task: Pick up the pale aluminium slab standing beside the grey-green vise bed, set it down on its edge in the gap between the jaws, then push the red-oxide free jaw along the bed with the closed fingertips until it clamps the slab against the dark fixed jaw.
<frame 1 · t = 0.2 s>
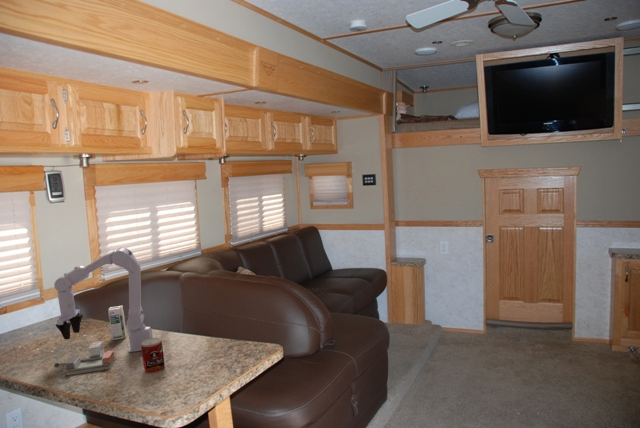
hand: (72, 335, 212), 10 cm above the table, fingers open, 7 cm apart
free jaw: (108, 358, 203), point 3 cm above the table, slide at 0.0 cm
syrup box: (119, 337, 235), on the table
canned food: (154, 369, 194), on the table
vise base: (91, 366, 202), on the table
aluminium block: (97, 358, 211), on the table
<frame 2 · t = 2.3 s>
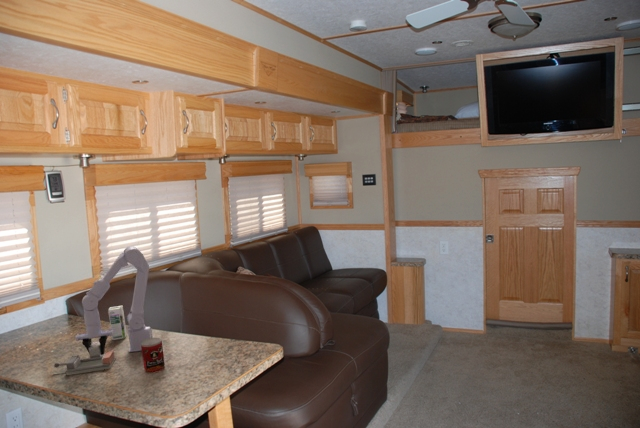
hand: (97, 354, 211), 1 cm above the table, fingers closed on aluminium block, 4 cm apart
aluminium block: (97, 357, 211), on the table, touching gripper
everything else where it was.
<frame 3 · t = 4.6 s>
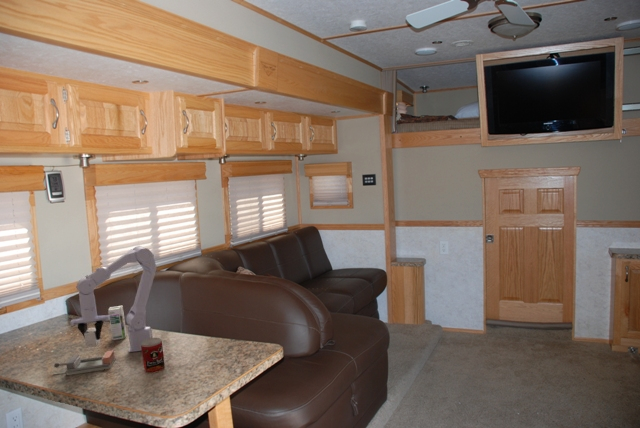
hand: (93, 339, 207), 9 cm above the table, fingers closed on aluminium block, 4 cm apart
aluminium block: (93, 343, 208), point 7 cm above the table, touching gripper
everything else where it was.
when the fingers open (4 cm above the table, at t = 7.0 s): aluminium block drops 1 cm, resting on vise base.
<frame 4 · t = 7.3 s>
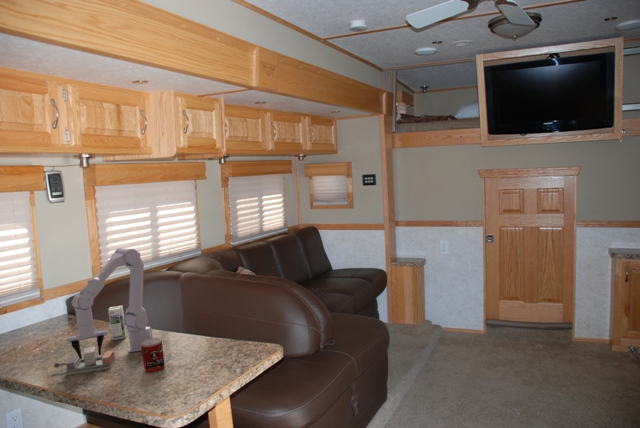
hand: (90, 356, 201), 4 cm above the table, fingers open, 6 cm apart
aluminium block: (91, 364, 202), point 1 cm above the table, touching vise base
everything else where it was.
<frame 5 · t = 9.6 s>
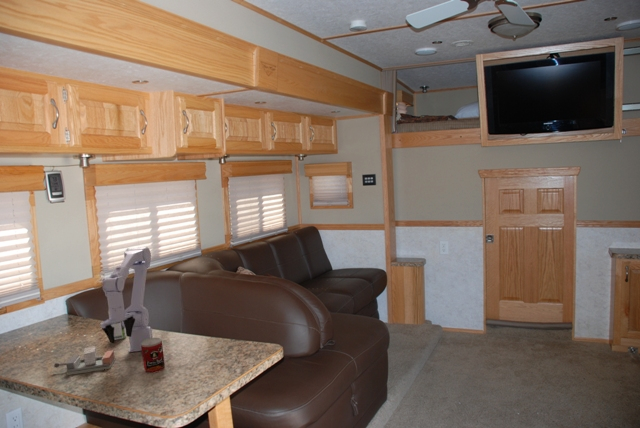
hand: (120, 339, 203), 9 cm above the table, fingers open, 7 cm apart
nothing on the table moved.
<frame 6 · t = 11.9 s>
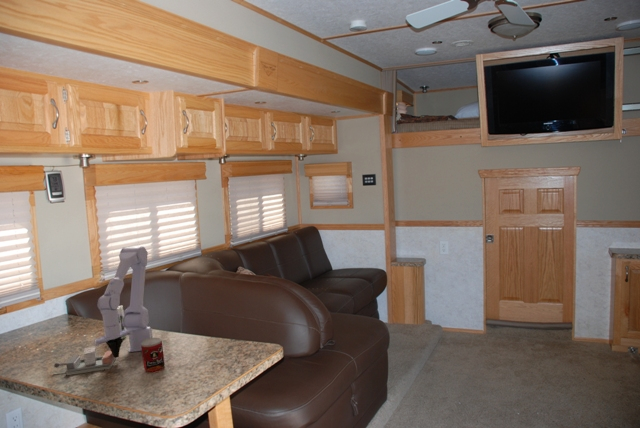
hand: (116, 356, 203), 3 cm above the table, fingers closed
free jaw: (108, 358, 203), point 3 cm above the table, slide at 0.0 cm, touching gripper
everything else where it was.
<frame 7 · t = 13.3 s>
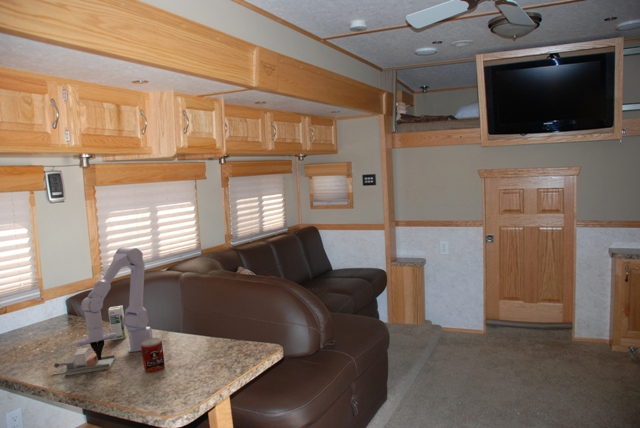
hand: (99, 359, 202), 3 cm above the table, fingers closed
free jaw: (92, 360, 202), point 3 cm above the table, slide at 6.0 cm, touching aluminium block, gripper
aluminium block: (83, 365, 202), point 1 cm above the table, touching free jaw, vise base
everything else where it was.
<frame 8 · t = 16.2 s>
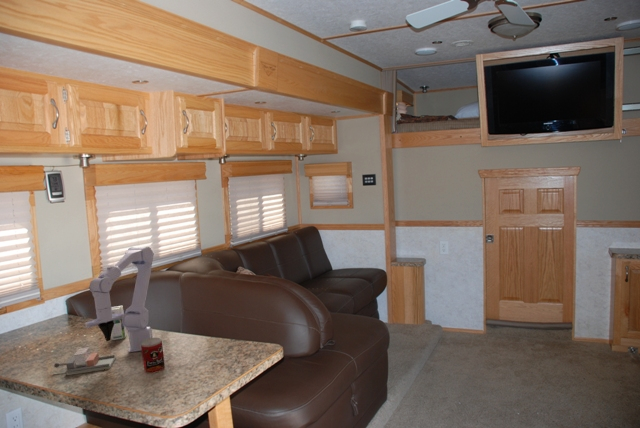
hand: (108, 340, 202), 10 cm above the table, fingers closed
free jaw: (92, 360, 202), point 3 cm above the table, slide at 6.0 cm, touching aluminium block
everything else where it was.
at the end: free jaw slide at 6.0 cm; aluminium block 0.5 cm from the target spot, point 1.0 cm above the table; aluminium block tilted 0° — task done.
